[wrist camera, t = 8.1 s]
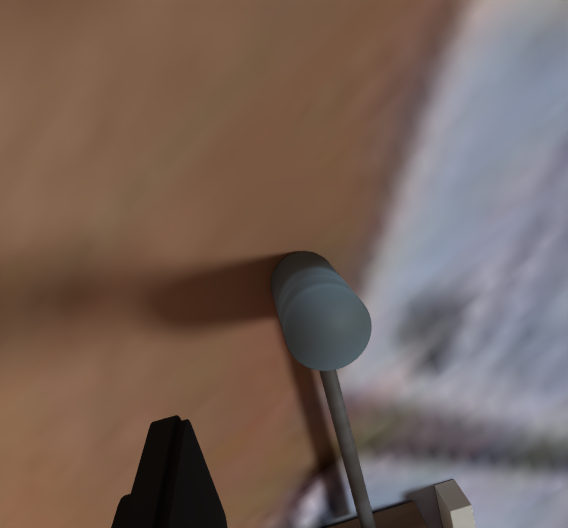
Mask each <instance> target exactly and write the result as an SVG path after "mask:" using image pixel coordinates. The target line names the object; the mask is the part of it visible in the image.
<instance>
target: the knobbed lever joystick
mask: <svg viewBox="0 0 568 528" xmlns="http://www.w3.org/2000/svg"><path fill="white" fill-rule="evenodd" d="M271 291H272V295H273V299H274V302H275V306H276V309H277V312H278V316H279V319H280V323H281V326H282V330H283V333H284V337H285V340H286V344H287V346H288V349H289V351H290V352H291V354H292V355H293V357H294V358H295V359H296V360H297V361H299V362H300V363H301V364H303V365H304V366H306V367H309V368H311V369H315V370H319V371H320V375H321V379H322V383H323V387H324V390H325V394H326V398H327V402H328V405H329V409H330V413H331V417H332V421H333V424H334V428H335V432H336V436H337V439H338V443H339V447H340V451H341V454H342V458H343V462H344V466H345V470H346V473H347V477H348V481H349V485H350V488H351V492H352V496H353V500H354V504H355V507H356V511H357V515H358V518H357V519H354V520H351V521H348V522H344V523H341V524H338V525H335V526H331V527H328V528H428V527H427V526H426V524H425V522H424V520H423V518H422V516H421V514H420V512H419V510H418V508H417V506H416V504H415V502H414V501H412V502H409V503H406V504H403V505H399V506H396V507H393V508H390V509H386V510H383V511H380V512H377V513H373V514H372V510H371V506H370V502H369V498H368V494H367V490H366V486H365V483H364V479H363V475H362V471H361V467H360V463H359V459H358V455H357V451H356V447H355V443H354V439H353V435H352V431H351V427H350V423H349V420H348V416H347V412H346V408H345V404H344V400H343V396H342V392H341V388H340V384H339V380H338V376H337V372H336V369H339V368H342V367H345V366H347V365H349V364H350V363H352V362H353V361H354V360H356V359H357V358H358V357H359V356H360V355H361V354H362V352H363V351H364V350H365V348H366V346H367V344H368V342H369V339H370V335H371V318H370V315H369V312H368V310H367V308H366V307H365V305H364V304H363V302H362V301H361V300H360V299H359V298H358V297H357V295H356V294H355V293H354V292H353V291H352V289H351V288H350V287H349V286H348V285H347V284H346V282H345V281H344V280H343V279H342V278H341V276H340V275H339V274H338V273H337V272H336V271H335V269H334V268H333V267H332V266H331V265H330V264H329V262H328V261H327V260H326V259H325V258H323V257H322V256H320V255H318V254H316V253H313V252H307V251H302V252H296V253H293V254H290V255H288V256H287V257H285V258H284V259H282V260H281V261H280V262H279V263H278V264H277V266H276V267H275V269H274V271H273V274H272V277H271Z"/></svg>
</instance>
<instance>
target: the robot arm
mask: <svg viewBox="0 0 568 528" xmlns="http://www.w3.org/2000/svg"><path fill="white" fill-rule="evenodd" d="M111 528H227V521H226V516H225V513H224V510H223V507H222V504H221V502H220V499H219V497H218V494H217V491H216V489H215V486H214V483H213V481H212V478H211V475H210V473H209V470H208V467H207V465H206V462H205V459H204V457H203V454H202V451H201V449H200V446H199V443H198V441H197V438H196V436H195V433H194V430H193V428H192V425H191V423H190V421H189V420H188V419H186V420H183V421H181V419H180V417H179V416H177V415H176V416H172V417H168V418H165V419H161V420H158V421H154V422H152V423H151V425H150V427H149V431H148V434H147V438H146V442H145V445H144V449H143V452H142V456H141V459H140V463H139V466H138V470H137V474H136V477H135V481H134V484H133V488H132V491H131V494H128V495H125V496H123V497H122V498H121V500H120V502H119V504H118V507H117V510H116V514H115V517H114V520H113V524H112V527H111Z"/></svg>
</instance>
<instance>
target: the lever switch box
mask: <svg viewBox="0 0 568 528" xmlns="http://www.w3.org/2000/svg"><path fill="white" fill-rule="evenodd" d="M434 486H435V491H436V496H437V501H438V505H439V510H440V515H441V520H442V525H443V528H476V527H475V522H474V516H473V511H472V505H471V504H470V502H469V501H468V499H467V498H466V496H465V495H464V493H463V492H462V490H461V489H460V487H459V486H458V484H457V483H456V481H455V480H454V479H453V480H450V481H446V482H443V483H440V484H437V485H434Z"/></svg>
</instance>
